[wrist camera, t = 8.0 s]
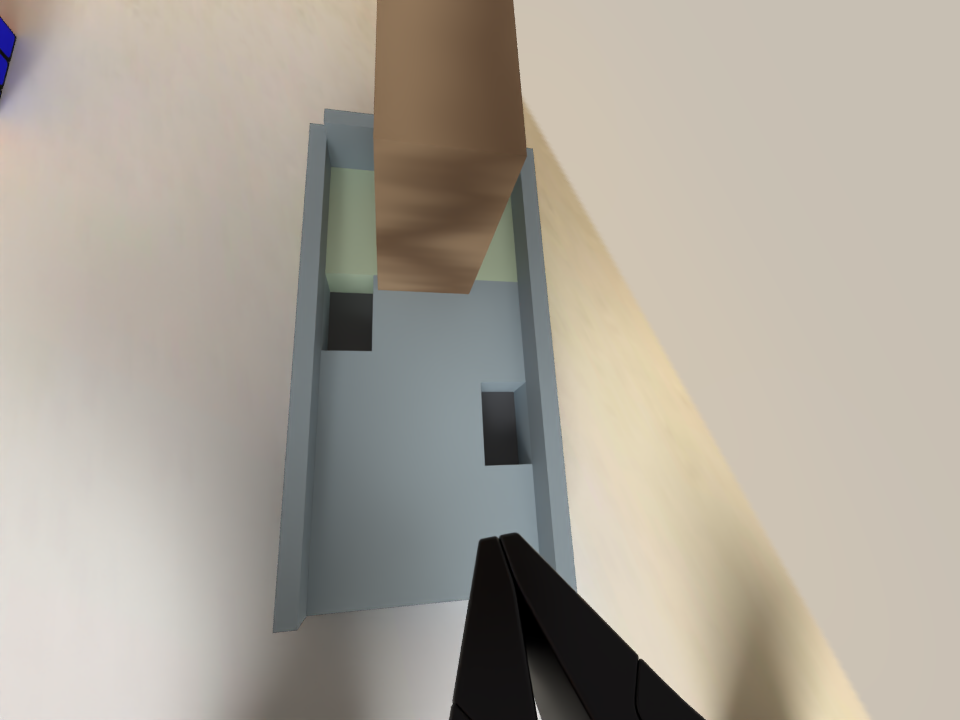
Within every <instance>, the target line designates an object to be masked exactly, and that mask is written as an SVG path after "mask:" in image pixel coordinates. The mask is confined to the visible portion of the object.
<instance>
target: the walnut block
mask: <svg viewBox="0 0 960 720" xmlns="http://www.w3.org/2000/svg"><path fill="white" fill-rule="evenodd" d="M515 28H516V27H515V17H514V6H513V0H377V25H376V60H375V94H374V129H373V148H374V180H375V213H376V246H377V279H378V290H389V291H410V292H432V293H453V294H469V293H470V291H471V288H472V286H473V284H474V281H475V279H476V277H477V274H478V272H479V269H480V267H481V265H482V262H483V260H484V257H485V255H486V253H487V250H488V248H489V245H490V243H491V241H492V238H493V236H494V234H495V231H496V229H497V226H498V224H499V222H500V219H501V217H502V214H503V212H504V210H505V207H506V205H507V203H508V200H509V198H510V195H511V193H512V191H513V188H514V186H515V183H516V181H517V179H518V176H519V174H520V172H521V169H522V167H523V164H524V162H525V160H526V157H527V150H526V139H525V127H524V116H523V105H522V94H521V83H520V72H519V61H518V49H517V38H516V29H515Z"/></svg>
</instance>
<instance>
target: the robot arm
mask: <svg viewBox="0 0 960 720" xmlns="http://www.w3.org/2000/svg"><path fill="white" fill-rule="evenodd" d="M638 659H639V657H638V655H637V654H636V653H635V651H634V650H633V649H632V648H631V647H630V646H629V645H628V644H627V643H626V642H625V641H624V640H623V639H622V638H621V637H620V636H619V635H618V634H617V633H616V632H615V631H614V630H613V629H612V628H611V627H610V626H609V625H608V624H607V623H606V622H605V621H604V620H603V619H602V618H601V617H600V616H599V615H598V614H597V613H596V612H595V611H594V610H593V609H592V608H591V607H590V606H589V605H588V604H587V603H586V601H585V600H584V599H583V598H582V597H581V596H580V595H579V594H578V593H577V592H576V591H575V590H574V589H573V588H572V587H571V586H570V585H569V584H568V583H567V582H566V581H565V580H564V579H563V578H562V577H561V576H560V575H559V574H558V573H557V572H556V571H555V570H554V569H553V568H552V567H551V566H550V565H549V564H548V563H547V562H546V561H545V560H544V559H543V558H542V557H541V556H540V555H539V554H538V553H537V551H536V550H535V549H534V548H533V547H532V546H531V545H530V544H529V543H528V542H527V541H526V540H525V539H524V538H523V537H522V536H521V535H520V534H519V533H516V532H513V533H508V534H503V535H500V536H499V538H498V537H497V536H492V537H487V538H482V539H480V540H479V542H478V548H477V554H476V560H475V566H474V572H473V578H472V585H471V591H470V597H469V603H468V609H467V615H466V621H465V627H464V633H463V639H462V646H461V652H460V658H459V664H458V670H457V676H456V682H455V688H454V694H453V700H452V702H453V705H452V706H451V711H450V717H449V720H538V718H537V712H536V706H535V701H536V704H537V707H538V710H539V713H540V716H541V719H542V720H705V719H704V718H703V717H702V716H701V715H700V714H699V713H697V712H696V711H695V710H694V709H693V708H692V707H691V706H689V705H688V704H687V703H686V702H685V701H684V700H683V699H682V698H681V697H680V696H679V695H678V694H677V693H676V692H675V691H674V690H673V689H672V688H670V687H669V686H668V685H667V684H666V683H665V682H664V681H663V680H662V679H661V678H660V677H659V676H658V675H657V674H656V673H655V672H654V671H653V670H652V669H651V668H650V667H649V666H648V665H647V664H646V662H645V661H644V660H643V659H639V661H638ZM534 698H535V700H534Z"/></svg>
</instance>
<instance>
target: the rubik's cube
mask: <svg viewBox="0 0 960 720" xmlns="http://www.w3.org/2000/svg"><path fill="white" fill-rule="evenodd" d="M15 41H16V36H15V34H14V33H13V32H12V31H11V29H10V28H9V27H8V26H7V24H6V23H5V22H4V21H3V19H2V18H1V17H0V97H1V93H2V90H1V89H3V86H4V82H5V78H6V75H7V71H8V67H9V62H10V60H11V56H12V52H13V48H14V45H15Z"/></svg>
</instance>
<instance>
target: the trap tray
mask: <svg viewBox="0 0 960 720" xmlns="http://www.w3.org/2000/svg"><path fill="white" fill-rule="evenodd" d="M373 129H374V115H373V114H365V113H357V112H349V111H340V110H332V109H325V111H324V125H321V124H313V123H310V130H309V144H308V158H307V171H306V185H305V199H304V212H303V226H302V240H301V253H300V267H299V281H298V295H297V308H296V322H295V336H294V349H293V363H292V377H291V390H290V404H289V418H288V431H287V445H286V459H285V472H284V486H283V500H282V513H281V527H280V541H279V554H278V568H277V582H276V595H275V609H274V623H273V633H276V632H286V631H295V630H298V628H299V627H300V625H301V624H302V622H303V621H304V619H305V617H306V616H312V615H322V614H332V613H342V612H352V611H361V610H371V609H381V608H391V607H401V606H411V605H421V604H430V603H440V602H450V601H460V600H469V597H470V591H471V585H472V578H473V572H474V566H475V560H476V554H477V548H478V542H479V540H480V539H482V538H487V537H492V536H497V537H498V538H499V536H500V535H503V534H508V533H513V532H516V533H519V534H520V535H521V536H522V537H523V538H524V539H525V540H526V541H527V542H528V543H529V544H530V545H531V546H532V547H533V548H534V549H535V550H536V551H537V553H538V554H539V555H540V556H541V557H542V558H543V559H544V560H545V561H546V562H547V563H548V564H549V565H550V566H551V567H552V568H553V569H554V570H555V571H556V572H557V573H558V574H559V575H560V576H561V577H562V578H563V579H564V580H565V581H566V582H567V583H568V584H569V585H570V586H571V587H572V588H573V589H574V590H575V591H576V592H577V586H576V576H575V566H574V556H573V546H572V536H571V526H570V516H569V506H568V496H567V486H566V476H565V466H564V456H563V446H562V436H561V426H560V416H559V406H558V396H557V386H556V376H555V366H554V356H553V346H552V336H551V326H550V316H549V306H548V296H547V286H546V276H545V266H544V256H543V246H542V236H541V226H540V216H539V206H538V196H537V186H536V176H535V166H534V156H533V149H531V148H526V150H527V157H526V160H525V162H524V164H523V167H522V169H521V172H520V174H519V176H518V179H517V181H516V183H515V186H514V188H513V191H512V193H511V195H510V198H509V200H508V203H507V205H506V207H505V210H504V212H503V214H502V217H501V219H500V222H499V224H498V226H497V229H496V231H495V234H494V236H493V238H492V241H491V243H490V245H489V248H488V250H487V253H486V255H485V257H484V260H483V262H482V265H481V267H480V269H479V272H478V274H477V277H476V279H475V281H474V284H473V286H472V288H471V291H470V293H469V294H453V293H432V292H410V291H389V290H378V279H377V246H376V213H375V180H374V148H373Z"/></svg>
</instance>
